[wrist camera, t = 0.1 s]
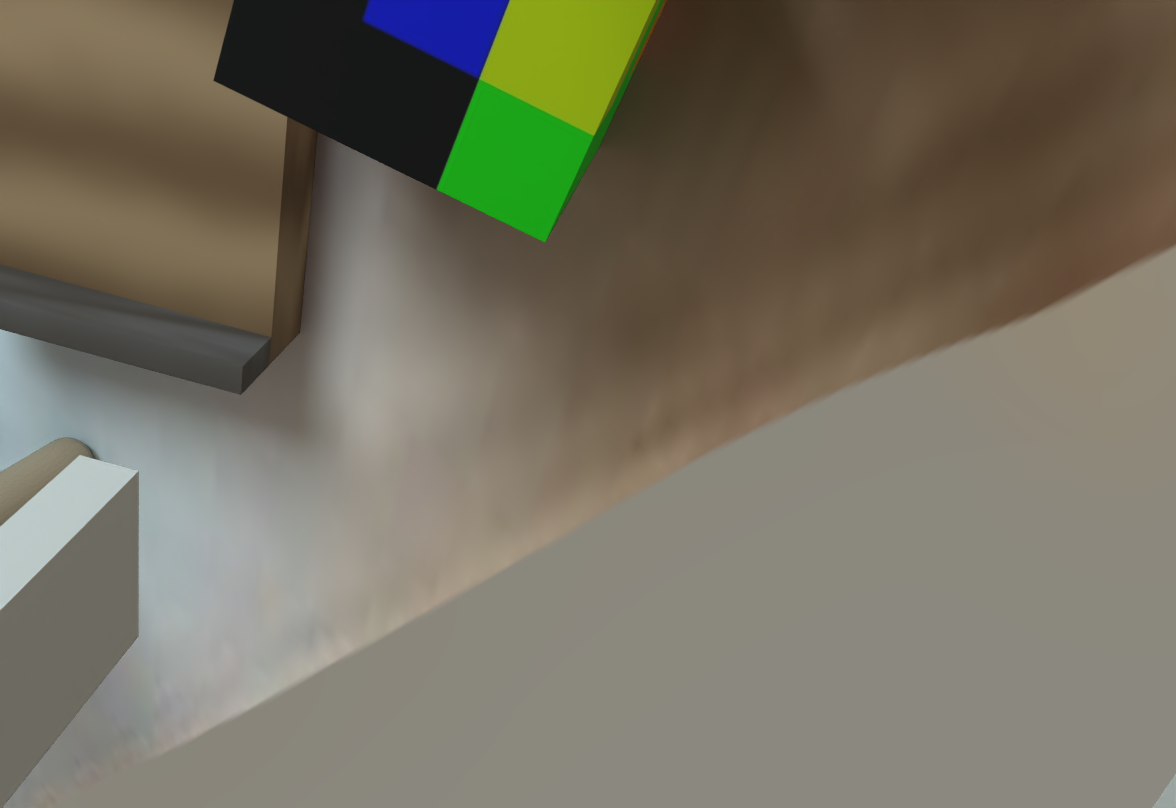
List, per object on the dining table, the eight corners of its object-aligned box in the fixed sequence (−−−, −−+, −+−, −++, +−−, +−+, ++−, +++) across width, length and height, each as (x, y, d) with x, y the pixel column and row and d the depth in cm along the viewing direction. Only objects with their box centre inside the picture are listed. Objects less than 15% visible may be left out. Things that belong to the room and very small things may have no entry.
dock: (-27, -146, 37) (-147, -140, 33) (333, -54, 37) (266, -34, 32) (-1, 251, 45) (-95, 303, 40) (299, 332, 44) (240, 394, 40)
